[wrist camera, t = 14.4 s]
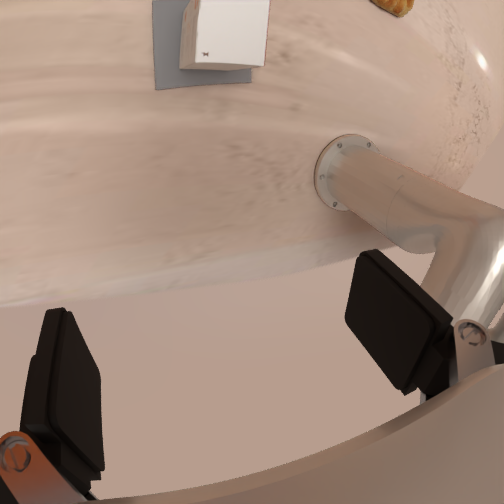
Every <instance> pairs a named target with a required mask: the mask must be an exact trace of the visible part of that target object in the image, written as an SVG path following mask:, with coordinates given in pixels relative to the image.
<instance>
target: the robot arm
mask: <svg viewBox="0 0 504 504" xmlns="http://www.w3.org/2000/svg"><path fill="white" fill-rule="evenodd" d="M314 178H315V187H316V190H317V193H318V195H319V197H320V198H321V199H322V201H323V202H324V203H326V204H327V205H328V206H329V207H331V208H333V209H335V210H339V211H349V210H351V211H353V212H354V213H355V214H357V215H358V216H359V217H361V218H362V219H363V220H365V221H366V222H367V223H369V224H370V225H371V226H373V227H374V228H375V229H377V230H378V231H379V232H381V233H382V234H383V235H384V236H386V237H387V238H388V239H390V240H391V241H392V242H394V243H395V244H396V245H397V246H399V247H400V248H402V249H403V250H405V251H407V252H410V253H416V254H425V253H432V252H435V255H434V258H433V260H432V262H431V264H430V268H429V269H428V271H427V274H426V275H425V277H424V279H423V281H422V283H421V285H420V286H419V285H418V284H417V283H416V282H415V281H414V280H412V279H411V278H410V277H409V276H408V275H407V274H405V273H404V272H403V271H402V270H401V269H400V268H399V267H398V266H397V265H395V264H394V263H393V262H392V261H391V260H390V259H389V258H387V257H386V256H385V255H384V254H383V253H382V252H380V251H379V250H378V249H373V250H368V251H363V252H361V253H360V255H359V257H358V258H357V259H356V264H355V268H354V273H353V279H352V283H351V288H350V293H349V298H348V302H347V307H346V312H345V322H346V324H347V325H348V327H349V328H350V329H351V331H352V332H353V333H354V334H355V336H356V337H357V338H358V340H359V341H360V342H361V344H362V345H363V346H364V347H365V349H366V350H367V351H368V353H369V354H370V355H371V357H372V358H373V359H374V360H375V362H376V363H377V365H378V366H379V367H380V368H381V370H382V371H383V372H384V374H385V375H386V376H387V378H388V379H389V380H390V382H391V383H392V384H393V386H394V387H395V388H396V389H398V390H401V392H402V393H403V394H404V396H405V395H407V394H409V393H411V392H413V391H415V390H416V389H417V387H418V388H419V389H420V391H421V395H420V405H419V406H417V407H415V408H413V409H411V410H410V411H408V412H406V413H404V414H402V415H400V416H398V417H396V418H395V419H392V420H390V421H388V422H386V423H384V424H382V425H381V426H378V427H376V428H374V429H372V430H370V431H368V432H365V433H363V434H361V435H359V436H357V437H354V438H352V439H350V440H347V441H345V442H343V443H340V444H338V445H336V446H333V447H331V448H328V449H325V450H323V451H320V452H318V453H315V454H313V455H310V456H307V457H304V458H301V459H298V460H295V461H292V462H290V463H286V464H283V465H280V466H277V467H274V468H271V469H267V470H264V471H261V472H257V473H254V474H250V475H246V476H242V477H239V478H235V479H231V480H227V481H222V482H218V483H213V484H209V485H204V486H199V487H194V488H189V489H182V490H177V491H170V492H164V493H158V494H151V495H143V496H134V497H124V498H114V499H104V500H99V499H98V498H97V497H96V496H95V495H94V494H93V493H92V492H91V491H90V489H91V482H90V481H91V480H92V481H93V480H101V473H100V471H104V470H105V462H104V451H103V437H102V417H101V377H100V373H99V369H98V367H97V365H96V363H95V361H94V359H93V357H92V355H91V353H90V351H89V349H88V347H87V345H86V343H85V341H84V339H83V336H82V334H81V332H80V330H79V328H78V325H77V323H76V321H75V318H74V316H73V314H72V312H70V311H68V312H67V311H66V309H65V308H63V307H62V308H55V309H49V310H47V311H46V313H45V316H44V320H43V325H42V328H41V333H40V337H39V341H38V345H37V350H36V355H33V357H32V358H31V361H30V365H29V371H28V376H27V382H26V387H25V393H24V399H23V406H22V413H21V421H20V430H19V431H12V432H8V433H6V434H4V435H3V436H2V437H1V438H0V504H504V313H503V315H502V316H501V318H500V319H499V321H498V323H497V324H496V326H495V327H494V328H491V329H487V328H488V326H489V325H490V323H491V322H492V320H493V318H494V317H495V315H496V313H497V312H498V310H500V308H501V306H502V305H503V303H504V209H501V208H499V207H497V206H495V205H492V204H489V203H486V202H484V201H481V200H478V199H475V198H472V197H470V196H468V195H465V194H463V193H460V192H458V191H456V190H454V189H452V188H450V187H448V186H446V185H444V184H441V183H439V182H437V181H435V180H433V179H431V178H430V177H427V176H425V175H423V174H421V173H419V172H417V171H415V170H413V169H411V168H409V167H407V166H404V165H402V164H400V163H398V162H396V161H394V160H391V159H389V158H387V157H385V156H382V155H380V152H379V150H378V148H377V147H376V145H375V144H374V143H373V142H372V141H370V140H369V139H367V138H365V137H363V136H359V135H345V136H341V137H339V138H337V139H335V140H334V141H333V142H331V143H330V144H329V145H328V146H327V147H326V148H325V149H324V151H323V152H322V154H321V155H320V157H319V160H318V162H317V165H316V169H315V177H314Z"/></svg>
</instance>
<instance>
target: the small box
mask: <svg viewBox="0 0 504 504" xmlns="http://www.w3.org/2000/svg"><path fill="white" fill-rule="evenodd" d="M269 12H270V0H190V2H189V4H188V5H187V7H186V8H185V10H184V12H183V21H182V31H181V43H180V58H179V69H205V70H226V71H229V70H239V69H247V68H256V67H264V66H265V56H266V45H267V33H268V22H269Z"/></svg>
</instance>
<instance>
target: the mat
mask: <svg viewBox="0 0 504 504" xmlns="http://www.w3.org/2000/svg"><path fill="white" fill-rule="evenodd" d="M189 2H190V0H153V1H152V5H153V45H154V66H155V83H156V90H161V89H169V88H177V87H187V86H197V85H210V84H226V83H250V82H251V68H247V69H239V70H229V71H226V70H205V69H179V58H180V43H181V31H182V21H183V12H184V10H185V8H186V7H187V5H188V4H189Z"/></svg>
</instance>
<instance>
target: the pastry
mask: <svg viewBox="0 0 504 504" xmlns="http://www.w3.org/2000/svg"><path fill="white" fill-rule="evenodd" d="M372 1H373V2H374V4H375V5H377V6H379V7H381V8H383V9H385V10H386V11H388V12H390V13H392V14H394V15H396V16H398V17H403V16H404V15H405V14H407V13H408V11H410V10H411V9H412V7H413V4H414V0H372Z"/></svg>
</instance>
